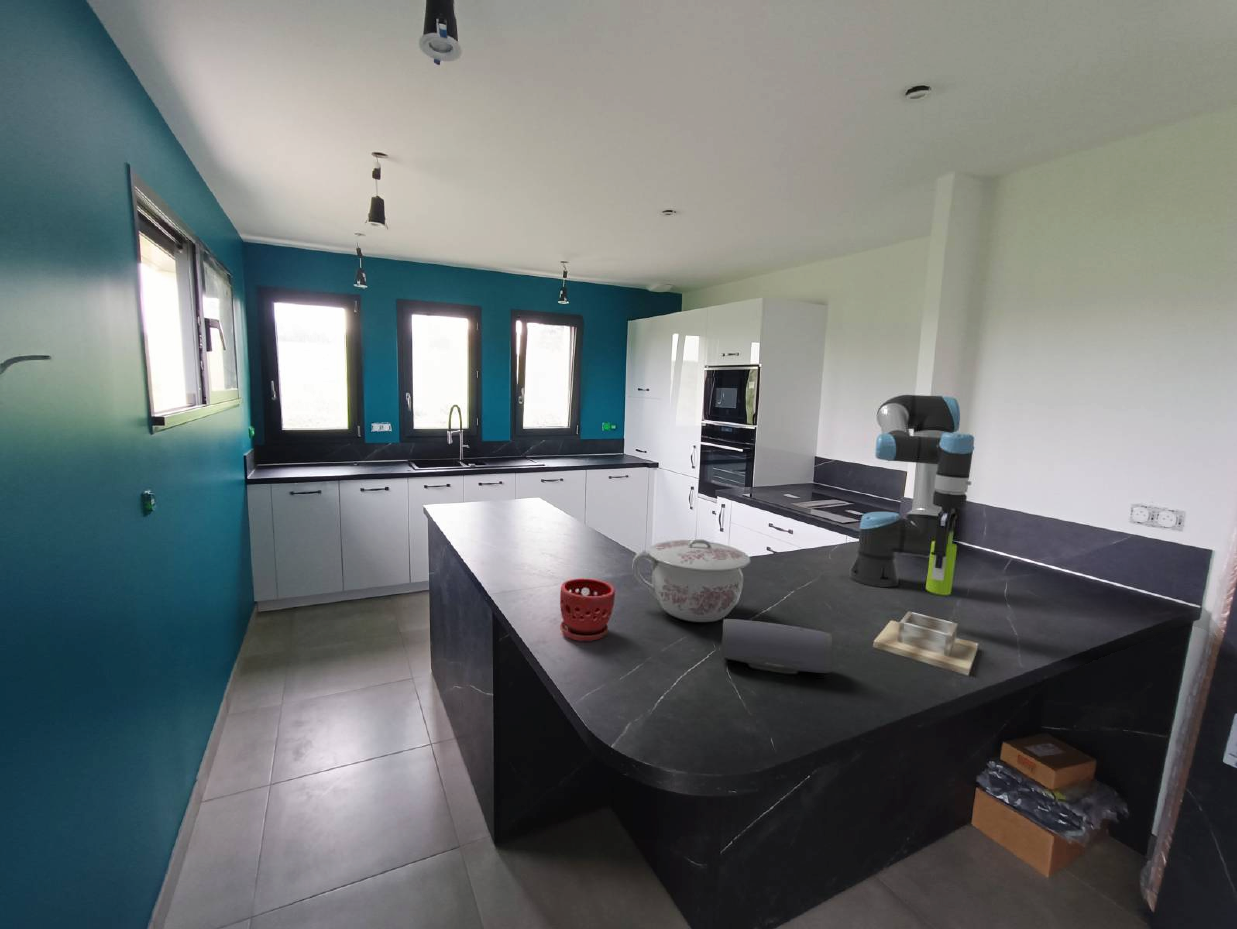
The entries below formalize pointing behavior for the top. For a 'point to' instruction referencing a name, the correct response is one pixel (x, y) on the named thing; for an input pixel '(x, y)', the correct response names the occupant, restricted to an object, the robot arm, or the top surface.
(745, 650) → the bluetooth speaker
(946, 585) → the soap dispenser
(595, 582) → the plant pot
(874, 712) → the top surface
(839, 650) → the top surface
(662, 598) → the chamber pot
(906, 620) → the dispenser caddy
